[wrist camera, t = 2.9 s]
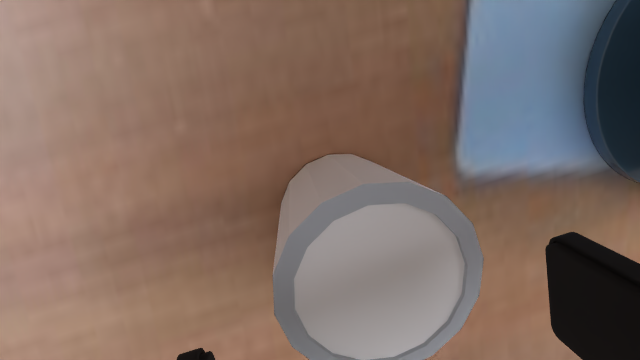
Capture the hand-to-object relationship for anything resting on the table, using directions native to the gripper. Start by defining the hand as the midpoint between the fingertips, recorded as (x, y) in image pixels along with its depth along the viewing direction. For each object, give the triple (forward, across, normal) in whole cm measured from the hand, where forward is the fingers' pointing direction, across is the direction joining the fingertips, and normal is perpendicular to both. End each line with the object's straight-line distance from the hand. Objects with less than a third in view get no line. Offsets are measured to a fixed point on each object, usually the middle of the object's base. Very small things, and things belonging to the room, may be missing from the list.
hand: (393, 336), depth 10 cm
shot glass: (+9, 0, 0) cm, 9 cm away
